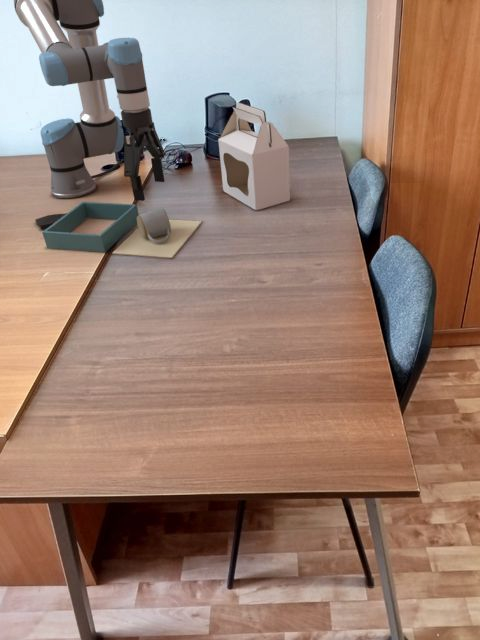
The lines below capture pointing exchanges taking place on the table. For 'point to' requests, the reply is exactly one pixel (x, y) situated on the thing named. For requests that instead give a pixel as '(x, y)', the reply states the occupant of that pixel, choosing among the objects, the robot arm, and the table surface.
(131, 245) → the mat
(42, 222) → the dark sector wedge
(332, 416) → the table surface
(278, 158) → the gable box
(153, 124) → the robot arm
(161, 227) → the ceramic mug
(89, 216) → the teal rectangular frame
